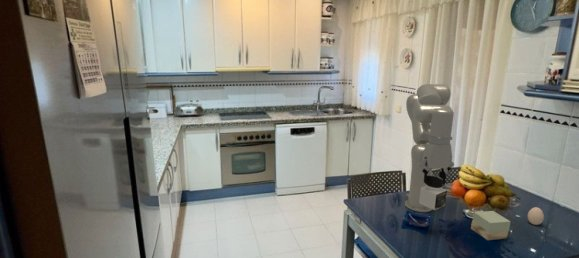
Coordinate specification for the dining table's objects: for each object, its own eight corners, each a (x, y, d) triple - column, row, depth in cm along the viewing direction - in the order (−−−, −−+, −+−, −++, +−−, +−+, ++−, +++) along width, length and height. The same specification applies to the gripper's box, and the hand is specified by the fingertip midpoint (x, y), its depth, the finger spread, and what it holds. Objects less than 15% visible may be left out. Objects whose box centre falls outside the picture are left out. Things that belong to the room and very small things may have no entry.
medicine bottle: (434, 210, 122) (438, 182, 119) (418, 203, 128) (421, 176, 125) (444, 205, 126) (448, 178, 123) (428, 199, 132) (432, 172, 129)
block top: (472, 220, 131) (473, 212, 130) (491, 219, 132) (493, 210, 132) (488, 232, 123) (490, 222, 122) (509, 230, 124) (510, 221, 123)
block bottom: (470, 229, 132) (472, 220, 131) (488, 227, 134) (490, 218, 133) (487, 241, 124) (489, 232, 123) (506, 238, 125) (508, 229, 124)
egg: (537, 228, 132) (541, 211, 131) (523, 222, 137) (526, 206, 136) (544, 225, 135) (548, 209, 133) (530, 220, 140) (533, 203, 138)
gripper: (452, 136, 126) (446, 178, 130) (413, 138, 122) (409, 181, 126) (465, 141, 119) (459, 185, 123) (425, 144, 115) (420, 188, 119)
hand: (434, 182), depth 125 cm, fingers closed on medicine bottle, 6 cm apart
